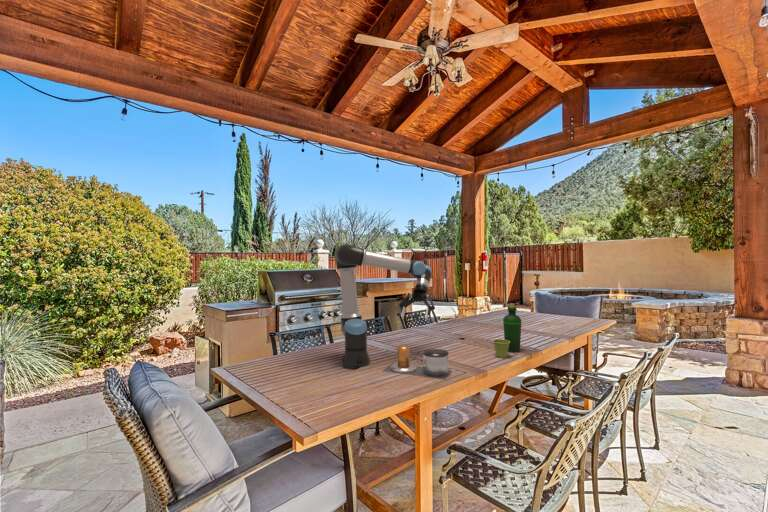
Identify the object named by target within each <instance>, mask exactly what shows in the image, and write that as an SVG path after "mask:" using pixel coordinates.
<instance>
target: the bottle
mask: <svg viewBox="0 0 768 512" xmlns="http://www.w3.org/2000/svg"><path fill="white" fill-rule="evenodd" d="M515 305H516V304H515V303H509V304H508V306H507V309H506V310H507V311H508V314H506V315H505V316H504V317H503V318H502V320H503V321H502V322H503V337H504V339H503V340H508V341H510V343H509V347H508V353H509V352H510V353H519V352H520V351H521V336H522V335H521V334H522V319H521V318H520V316H519V315H517V314H516V313H517V311H518V309H517V306H515ZM518 351H519V352H518Z"/></svg>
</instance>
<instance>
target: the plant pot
mask: <svg viewBox="0 0 768 512" xmlns="http://www.w3.org/2000/svg"><path fill="white" fill-rule="evenodd" d="M492 342H493V345H494V352H495V357H499V358H500V359H501V358H502V359H503V358H507V357H508V353H509V351H508V347H509V343H510V341H508V340H505V339H503V338H502V339H500V338H497V339H493V340H492Z"/></svg>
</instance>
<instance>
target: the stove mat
mask: <svg viewBox="0 0 768 512" xmlns="http://www.w3.org/2000/svg"><path fill="white" fill-rule="evenodd" d="M395 363H396V362H395ZM395 363H394V362H392V363H390V364H389V365H388V366H386V367H385V368H383V369H382V370H381V372H385V373H393V374H397V373H396V372H393V371H392V370H391V365H393V364H395ZM416 366H417V370H416V371H415V372H412V373H398V375H399V374H401V375H408V376H415V377H421V378H422V377H423V378H430V379H431V378H432V379H437V380H438V379H439V380H443V381H444V380H445V381H446V380H447V378H449V376H450V375H451V373H452V372H453V370H451V369H448V375H447V376H445V377H429V376H426V375H424V373H423V366H418V365H416Z"/></svg>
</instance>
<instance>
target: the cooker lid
mask: <svg viewBox="0 0 768 512" xmlns="http://www.w3.org/2000/svg"><path fill="white" fill-rule="evenodd" d="M410 348H411V347H410V345H407V344H400V345H398V346H397V362H395V364H393V365H391V370H392V371H393V372H396V373H395V374H399V373H412V372H415V371H416V370H417V366H418V365H416V364H414V363H411V362H410V360H411V359H410V355H411V354H410V352H411V351H410Z"/></svg>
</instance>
